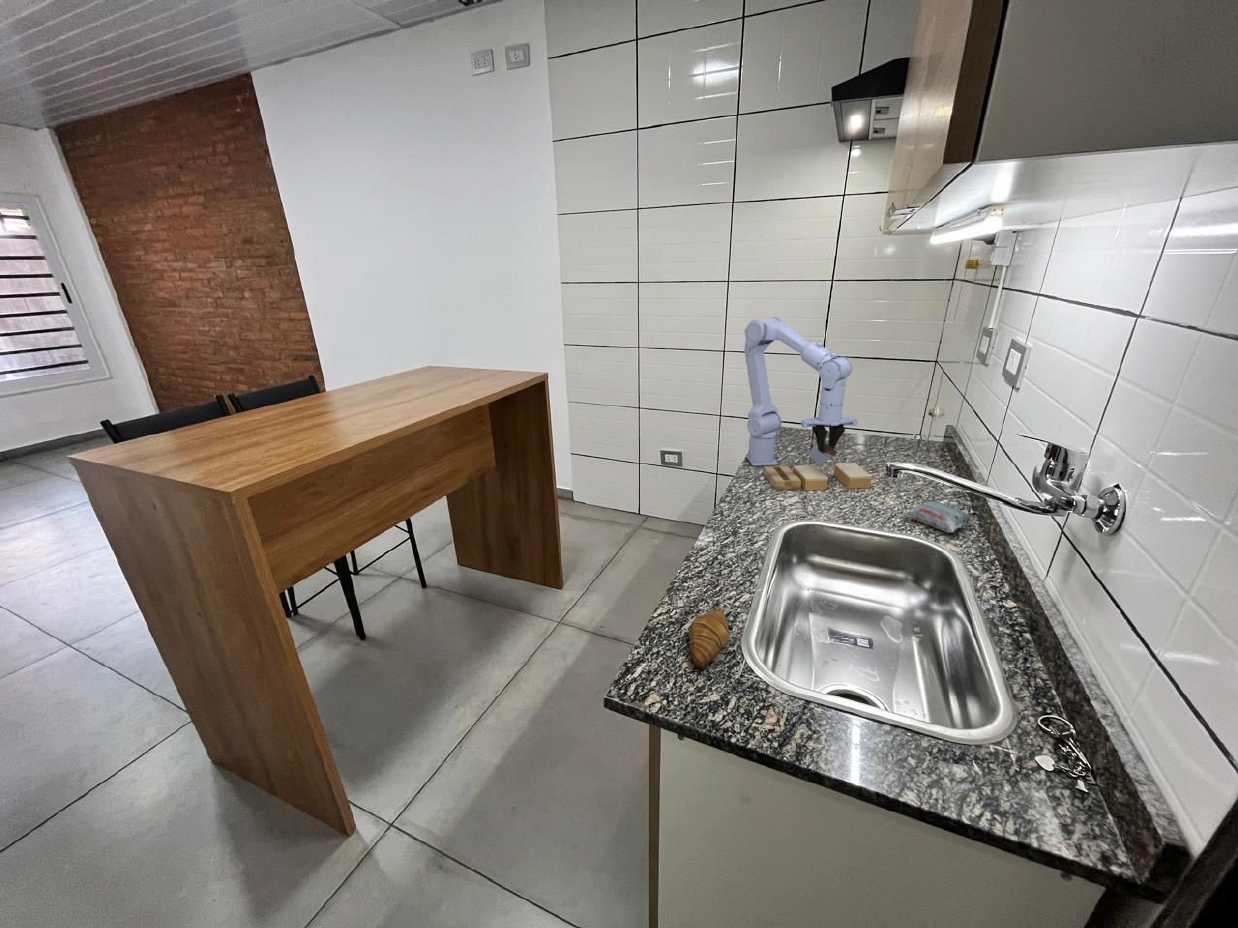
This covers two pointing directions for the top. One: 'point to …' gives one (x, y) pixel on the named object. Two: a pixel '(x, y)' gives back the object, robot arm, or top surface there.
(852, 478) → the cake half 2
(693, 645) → the croissant
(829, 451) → the knife
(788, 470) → the knife block
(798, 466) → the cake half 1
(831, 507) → the top surface
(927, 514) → the packaged food
